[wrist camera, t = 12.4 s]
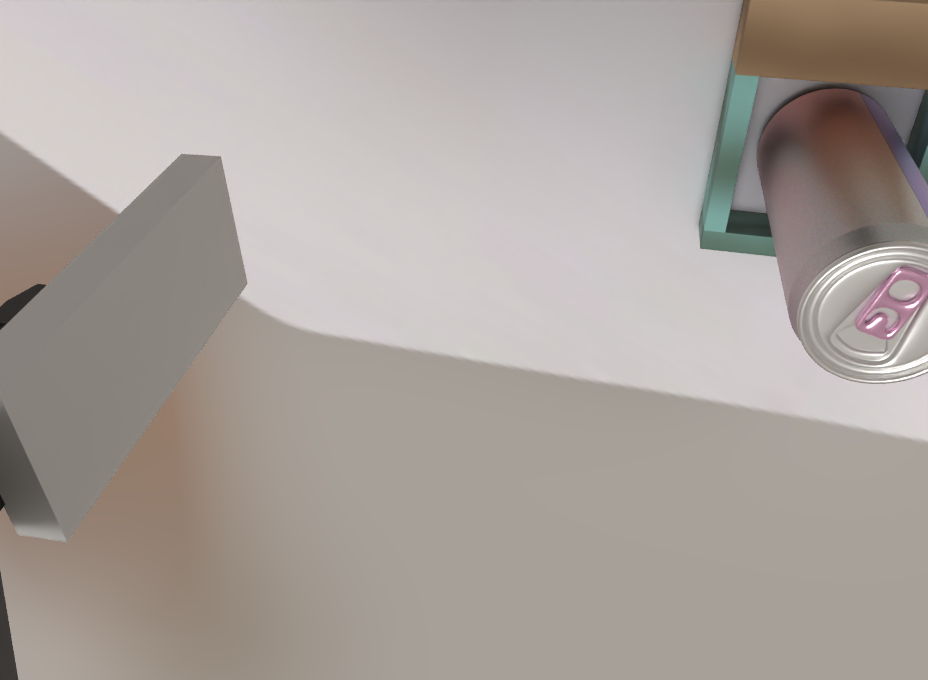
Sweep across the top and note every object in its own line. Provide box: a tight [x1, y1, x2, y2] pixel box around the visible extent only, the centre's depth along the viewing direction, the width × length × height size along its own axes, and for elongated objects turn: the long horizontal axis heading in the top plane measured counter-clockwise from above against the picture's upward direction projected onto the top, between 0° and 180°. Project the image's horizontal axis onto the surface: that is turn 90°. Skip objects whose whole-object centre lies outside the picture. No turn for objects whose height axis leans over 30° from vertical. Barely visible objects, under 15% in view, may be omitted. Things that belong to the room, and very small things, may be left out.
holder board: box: [699, 0, 928, 257], centre depth 36 cm, size 21×10×2 cm, turn 179°
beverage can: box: [757, 89, 928, 384], centre depth 35 cm, size 6×6×15 cm
